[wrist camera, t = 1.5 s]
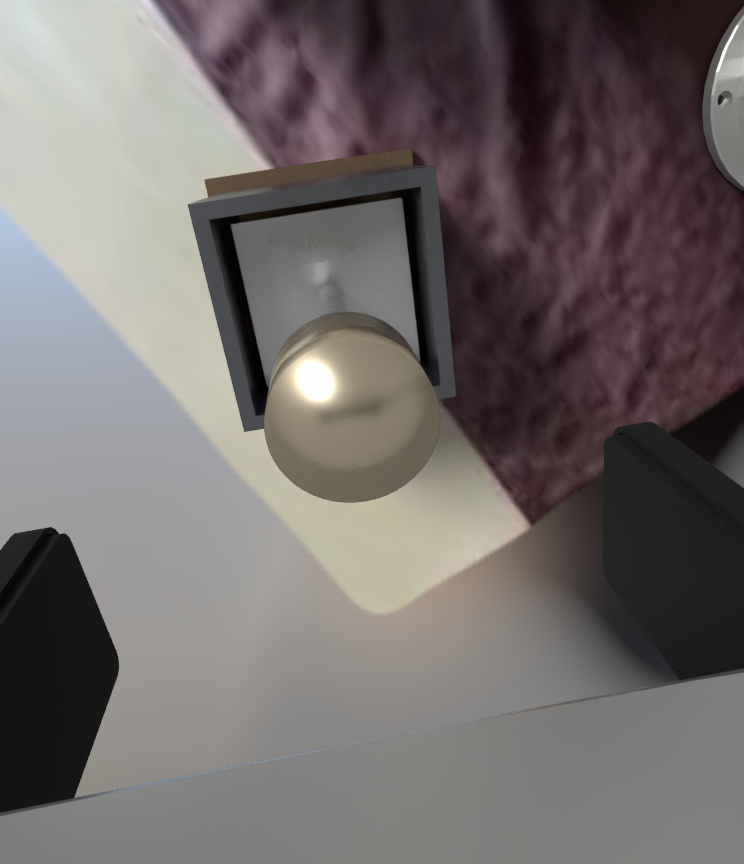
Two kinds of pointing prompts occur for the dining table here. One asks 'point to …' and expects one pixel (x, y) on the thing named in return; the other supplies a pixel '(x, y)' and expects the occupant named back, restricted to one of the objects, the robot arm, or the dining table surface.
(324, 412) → the plunger
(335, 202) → the press housing
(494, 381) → the dining table surface
